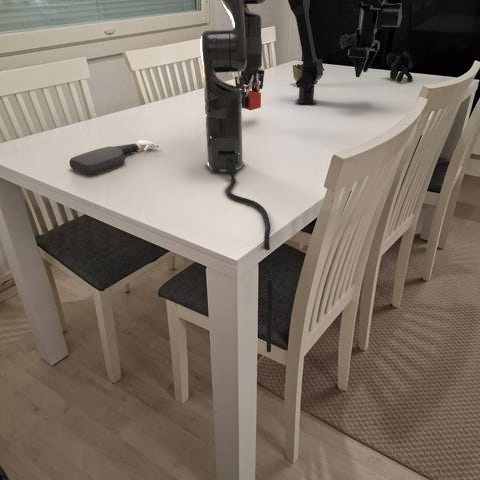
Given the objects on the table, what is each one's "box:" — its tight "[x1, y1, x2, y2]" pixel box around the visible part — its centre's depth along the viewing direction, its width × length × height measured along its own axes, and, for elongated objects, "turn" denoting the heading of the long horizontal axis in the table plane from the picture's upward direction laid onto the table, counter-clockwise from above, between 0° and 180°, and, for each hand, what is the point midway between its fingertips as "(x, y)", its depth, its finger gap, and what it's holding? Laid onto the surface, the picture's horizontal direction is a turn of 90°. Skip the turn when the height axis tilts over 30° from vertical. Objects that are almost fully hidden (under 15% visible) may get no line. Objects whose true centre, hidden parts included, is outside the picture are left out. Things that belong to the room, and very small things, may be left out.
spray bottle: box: [68, 139, 160, 177], centre depth 124 cm, size 3×11×24 cm
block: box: [243, 89, 262, 111], centre depth 147 cm, size 5×5×5 cm
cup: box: [292, 63, 303, 82], centre depth 194 cm, size 8×7×8 cm
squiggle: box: [385, 51, 414, 83], centre depth 198 cm, size 11×10×15 cm
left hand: (250, 105), depth 148 cm, fingers closed on block, 5 cm apart
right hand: (361, 74), depth 157 cm, fingers open, 9 cm apart
